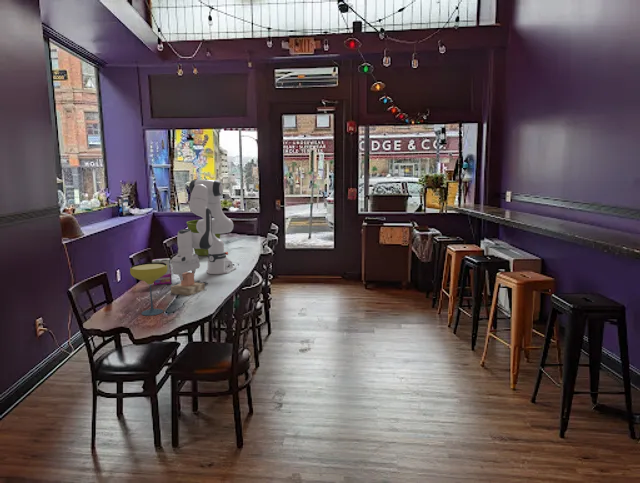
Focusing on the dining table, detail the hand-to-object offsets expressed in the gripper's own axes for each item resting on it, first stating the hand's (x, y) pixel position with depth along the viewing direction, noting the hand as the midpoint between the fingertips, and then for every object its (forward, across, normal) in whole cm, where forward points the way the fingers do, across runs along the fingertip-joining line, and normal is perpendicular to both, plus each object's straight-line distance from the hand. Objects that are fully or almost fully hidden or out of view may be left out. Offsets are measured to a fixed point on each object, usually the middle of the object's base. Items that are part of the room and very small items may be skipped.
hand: (187, 278), depth 274 cm
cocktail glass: (+8, +39, +10) cm, 41 cm away
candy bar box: (+8, -8, -28) cm, 30 cm away
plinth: (+8, 0, 0) cm, 8 cm away
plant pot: (+8, -100, -67) cm, 121 cm away
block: (+4, 0, 0) cm, 4 cm away
